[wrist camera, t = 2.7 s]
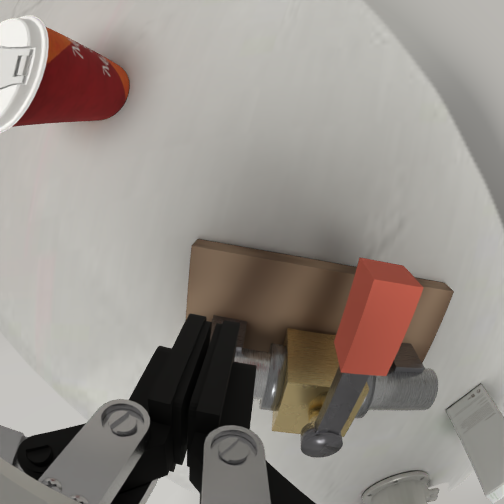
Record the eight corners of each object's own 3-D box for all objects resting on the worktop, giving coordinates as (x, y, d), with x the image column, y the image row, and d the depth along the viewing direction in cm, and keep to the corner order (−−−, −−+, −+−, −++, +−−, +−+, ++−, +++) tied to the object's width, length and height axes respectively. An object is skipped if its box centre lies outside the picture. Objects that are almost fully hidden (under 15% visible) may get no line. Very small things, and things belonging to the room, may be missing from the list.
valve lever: (332, 436, 20) (335, 465, 17) (296, 434, 20) (296, 463, 17) (405, 266, 15) (425, 288, 13) (357, 257, 15) (371, 278, 13)
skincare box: (444, 408, 32) (482, 497, 17) (483, 379, 30) (532, 461, 15) (459, 430, 33) (490, 506, 18) (493, 404, 31) (533, 477, 17)
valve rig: (444, 282, 26) (503, 343, 16) (396, 390, 31) (421, 462, 21) (197, 238, 27) (149, 293, 17) (188, 363, 32) (156, 439, 21)
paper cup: (149, 53, 22) (51, -2, 9) (130, 134, 25) (16, 135, 11) (81, 55, 22) (-23, 25, 9) (65, 128, 25) (-47, 135, 12)
